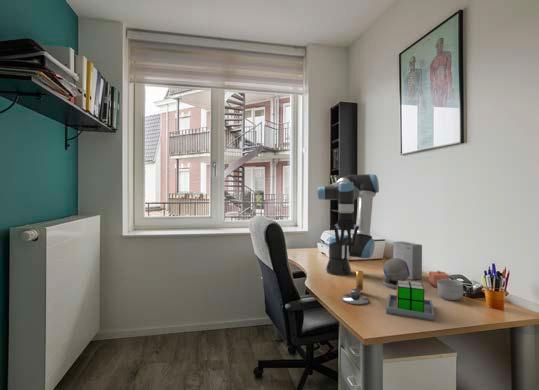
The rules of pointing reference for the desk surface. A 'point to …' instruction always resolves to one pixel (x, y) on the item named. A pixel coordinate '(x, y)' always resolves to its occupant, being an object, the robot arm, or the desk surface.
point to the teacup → (450, 289)
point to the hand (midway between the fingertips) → (345, 258)
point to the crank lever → (358, 285)
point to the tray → (394, 310)
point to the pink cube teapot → (437, 277)
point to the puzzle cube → (410, 296)
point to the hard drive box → (410, 257)
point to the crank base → (355, 300)
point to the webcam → (395, 272)
